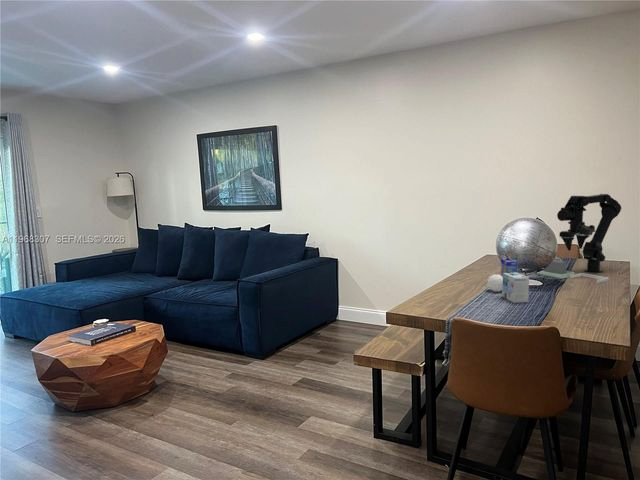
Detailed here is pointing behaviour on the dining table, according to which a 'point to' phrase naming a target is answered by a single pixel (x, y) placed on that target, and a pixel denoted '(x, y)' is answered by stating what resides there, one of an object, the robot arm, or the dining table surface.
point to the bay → (602, 279)
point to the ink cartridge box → (508, 265)
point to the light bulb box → (515, 287)
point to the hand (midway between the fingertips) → (574, 249)
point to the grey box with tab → (557, 267)
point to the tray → (556, 274)
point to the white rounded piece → (495, 283)
